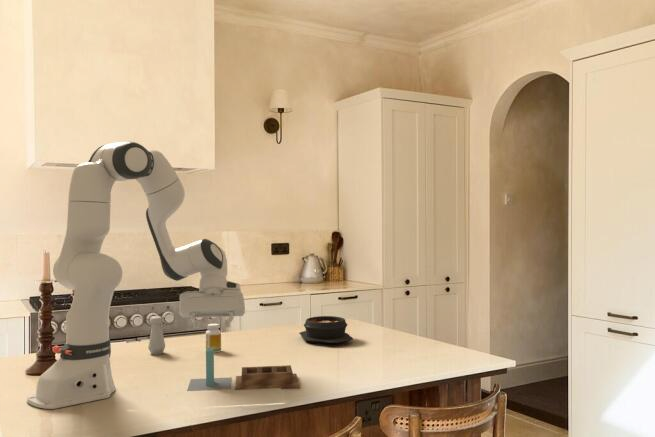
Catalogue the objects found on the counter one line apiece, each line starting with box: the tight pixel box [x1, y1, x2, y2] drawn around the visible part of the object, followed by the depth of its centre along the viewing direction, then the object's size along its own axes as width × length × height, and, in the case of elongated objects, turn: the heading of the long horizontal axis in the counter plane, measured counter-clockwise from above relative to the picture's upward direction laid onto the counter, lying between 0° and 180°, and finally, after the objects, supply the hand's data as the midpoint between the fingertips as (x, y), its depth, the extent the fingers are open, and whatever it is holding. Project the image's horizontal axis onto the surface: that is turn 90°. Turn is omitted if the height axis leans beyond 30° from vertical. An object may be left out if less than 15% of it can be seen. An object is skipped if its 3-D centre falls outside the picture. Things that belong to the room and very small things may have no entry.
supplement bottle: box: [205, 323, 222, 354], centre depth 218 cm, size 5×5×10 cm
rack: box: [234, 364, 301, 391], centre depth 177 cm, size 18×12×4 cm, turn 98°
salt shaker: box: [148, 315, 166, 356], centre depth 216 cm, size 6×6×13 cm
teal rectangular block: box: [205, 348, 215, 386], centre depth 176 cm, size 2×4×10 cm, turn 7°
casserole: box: [298, 315, 354, 345], centre depth 235 cm, size 25×19×8 cm
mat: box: [186, 376, 233, 392], centre depth 176 cm, size 12×12×1 cm
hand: (211, 326), depth 186 cm, fingers open, 8 cm apart
